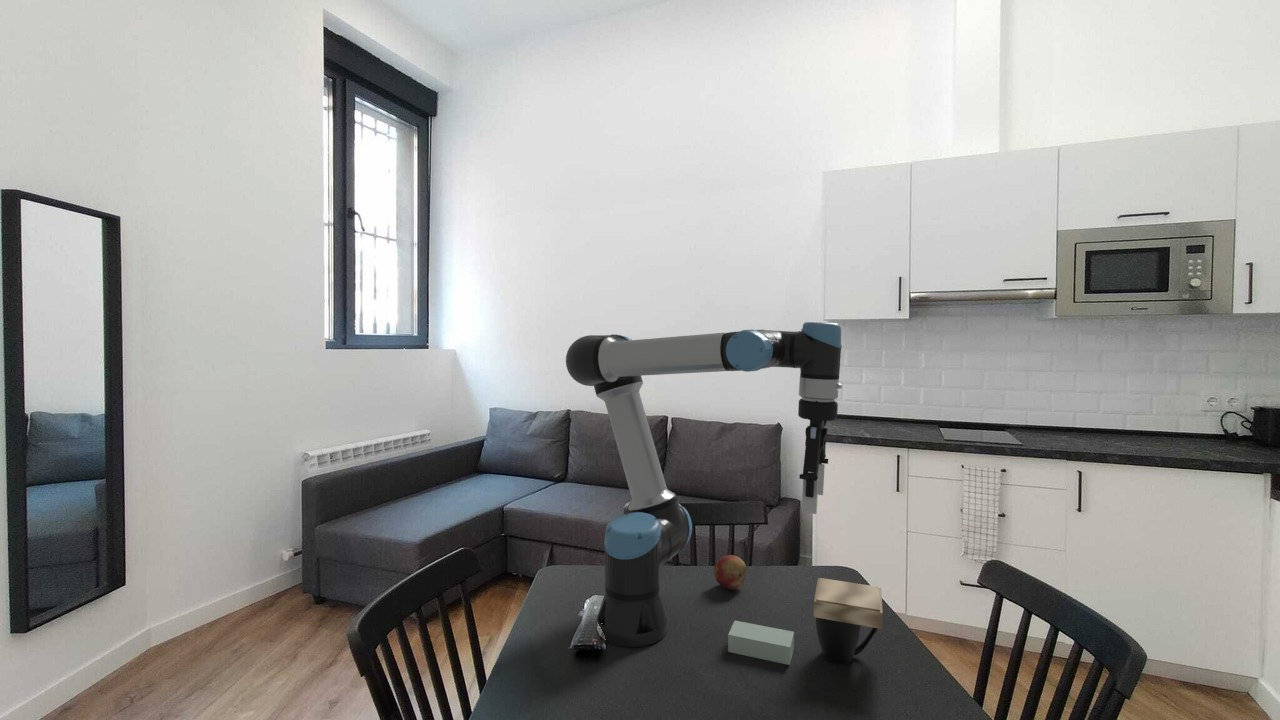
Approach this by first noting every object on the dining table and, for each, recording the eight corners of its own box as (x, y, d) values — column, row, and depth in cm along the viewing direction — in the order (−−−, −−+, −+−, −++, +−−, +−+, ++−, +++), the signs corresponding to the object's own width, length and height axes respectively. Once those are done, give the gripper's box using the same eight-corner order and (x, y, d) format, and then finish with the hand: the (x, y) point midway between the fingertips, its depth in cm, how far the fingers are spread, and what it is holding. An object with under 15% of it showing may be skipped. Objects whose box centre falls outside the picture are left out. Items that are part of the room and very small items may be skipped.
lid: (813, 616, 108) (814, 599, 108) (817, 592, 118) (818, 576, 118) (882, 629, 104) (882, 611, 104) (880, 602, 114) (880, 586, 114)
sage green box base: (727, 651, 113) (728, 634, 113) (734, 636, 119) (734, 620, 119) (789, 665, 109) (790, 647, 109) (793, 648, 114) (794, 631, 114)
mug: (885, 671, 107) (887, 621, 107) (820, 667, 108) (821, 618, 108) (872, 647, 115) (873, 601, 115) (811, 644, 116) (812, 598, 116)
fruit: (724, 597, 136) (724, 564, 136) (708, 584, 144) (708, 553, 143) (751, 592, 139) (752, 559, 139) (734, 579, 147) (735, 548, 146)
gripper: (833, 408, 102) (826, 524, 103) (841, 394, 125) (836, 489, 126) (790, 404, 105) (784, 518, 106) (806, 391, 128) (801, 484, 129)
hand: (812, 502), depth 116 cm, fingers open, 13 cm apart
